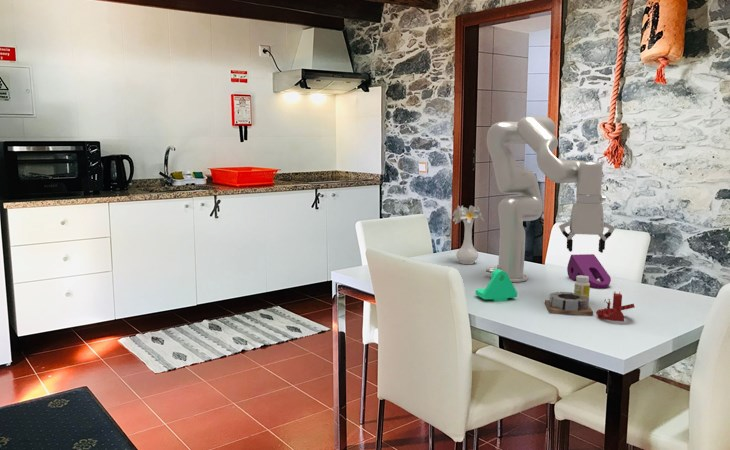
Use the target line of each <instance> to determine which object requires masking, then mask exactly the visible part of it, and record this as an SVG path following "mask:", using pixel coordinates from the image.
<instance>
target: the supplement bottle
mask: <svg viewBox="0 0 730 450" xmlns="http://www.w3.org/2000/svg"><path fill="white" fill-rule="evenodd" d="M590 289H591V286H590V283H589V277H588V276H582V275H579V276H576V280H575V282H574V290H573V293H578V294H582V295H587V298H588V299H589V300H590Z"/></svg>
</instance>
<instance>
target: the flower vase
mask: <svg viewBox="0 0 730 450" xmlns="http://www.w3.org/2000/svg"><path fill="white" fill-rule="evenodd" d="M451 217H453V218H452V222H454V225H456V224H458V223H461V221H462V222H463V224H464V234H463V235H464V237H463V243H462V245H461V246H460V248H458V250H457V252H456V254H455V255H456V256H455V257H456V258H457V260H458V261H459V263H460V264H463V265H473V264H475V261H477V260H478V258H479V252H478V251H477V249H475V248H474V245H473V237H472V236H473V231H472V230H473V225H474V221H475V220H476V221H477V220H479V219H480V220H481V221H482V222H485V219H484V217H483V215H482V211H481V209H480V207H479V206H477V208H476V206H473V205H469V207H468V208H467V207H464V205H461V206H460V205H457V207H456V209H454V211H453V213H452V214H451Z"/></svg>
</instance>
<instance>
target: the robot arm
mask: <svg viewBox="0 0 730 450" xmlns="http://www.w3.org/2000/svg"><path fill="white" fill-rule="evenodd" d="M556 130H557V129H556V124H555V122H554V120H553V119H552V118H551V117H548V116H541V115H540V116H539V115H538V116H537V115H530V116H529V115H528V116H524V117H522V118H520V120H518V121H498V122H496V123H493V124H491V126H490V127H489V129H488V130H487V134H486V147H487V150H488V153H489V155H490V158H491V161H492V165H493V171H494V175H495V182H496V184H497V188H498V190H499V193H502V194H507V195H514V194H516V196H508V197H504V198H503V199H502V200H501V201H500V202H499V203H498V207H497V210H498V213H497V214H498V218H499V244H498V246H499V247H498V248H499V249H498V264H497V265H496V266H494V267H490V266H486V267H485V273H490V274H492V272H493V271H494V270H496V269H500V270H502V271H504V272H506V273H507V275H508V277H509V279H510V280H511V282H512V283H521V282H526V281H528V275H527V274H525V273H524V271H525V255H526V253H525V251H526V231H525V227H524V226H523V225H524V224H523V222H527V221H535V220H538V219H539V218H541V216H542V215H543V207H544V206H543V201H542V200H543V199H542V195H541V191H540V186H539V181H538V178H537V176H536V174H535V173H534V171H532V170H531V169H528V168H518V166H517V162H516V157H515V155H514V153H513V152H512V150H511V149H510V148H509V146H508V145H527V146H528V147H530V149H532V150H533V151H534V153H535V154H536V162H537V166H538V168H539V170H540V171H541V172H542V173H543V175H544V176H546V178H548V179H549V180H550V181H551V182H553V183H555V184H567V183H568V184H569V183H570V184H573V183H574V184H576V196H575V197H576V198H575V202H574V203H572V207H571V211H570V212H571V213H570V220H568V221H566V222H564V223H561V224H560V225H559V226H558V228H559V229H560V231H561V234H562V235H563V236H564V237H565V238H566V249H567V250H568V252H570V253H571V252H573V241H574V240H573V238H574V236H576V235H586V236H587V235H589V236H590V235H591V236H594V235H595V236H598V237H599V238H600V239H598V252H599V253H601V254H603V253H604V250H606V249H605V248H606V247H605V246H606V241H607V240H608V239H609V238H610V237H611V236H612V234H613V233H614V231H615V229H616V228H615V226H612V225H611V224H609V223H607V222H606V221H604V219H605V217H604V205H603V204H602V202H603V201H604V202H605V201H606V196H604V195H602V180H603V165H602V163H601V162H599V161H584V160H576V159H575V160H574V159H573V160H572V159H571V160H568V159H566V160H565V159H564V160H561V159H559V158H557V157H556V156H555V155H554V152H555V151H556V150H557V147H558V145H559V141H558V137H556V136H555V133H556ZM517 194H519V196H517ZM567 227H569V232H567V231H566V228H567ZM605 228H607V229H608V230H607V232H605V233H604V230H605ZM499 277H500V276H499Z"/></svg>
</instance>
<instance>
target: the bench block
mask: <svg viewBox="0 0 730 450" xmlns="http://www.w3.org/2000/svg"><path fill="white" fill-rule="evenodd" d="M544 306H545V307H546V310H547V311H548V313H549V314H557V315H558V314H559V315H573V316H574V315H575V316H577V315H578V316H591V317H592V316H594V311H593V310H592V308H591V307H590V305H589V304H588V309H586V310H582V311H566V310H561V309H557V308H554V307H552V306H550V304H549V299H545V300H544Z"/></svg>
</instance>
